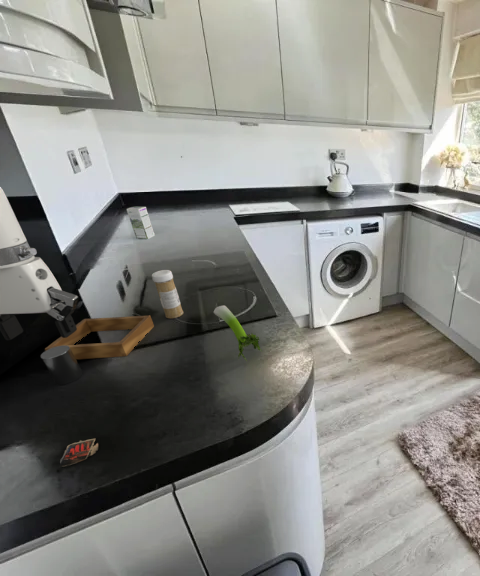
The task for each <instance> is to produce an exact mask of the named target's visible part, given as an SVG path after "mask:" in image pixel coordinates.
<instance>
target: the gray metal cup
mask: <svg viewBox="0 0 480 576" xmlns="http://www.w3.org/2000/svg"><path fill="white" fill-rule="evenodd" d="M40 359H41V360H42V363H44V364H43V365H44V366H45V367H46V369H47V371H48V372H49V374H50V376H51V378H52V379H53V380H54V383H55V384H56V385H58V386H63V385H69V384H71V383H74V382H75V381H77V380H79V379H81V377H83V373H84V372H83V371H82V369H81V367H80V364H79V362H78V360H77V359H75V357H74V355H73V353H72V351H71V349H70V347H69V346H67V345H62V346H57V347H53V348H51V349H48V350H47V351H45V350H44V351H43V352H42V353H41V354H40Z"/></svg>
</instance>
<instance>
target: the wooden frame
mask: <svg viewBox="0 0 480 576" xmlns="http://www.w3.org/2000/svg"><path fill="white" fill-rule="evenodd" d="M75 325H76V328H77V330H76V331H75V332H74V333H72V334H71V335H70V336H68V337H67V338H63V337H62V336H61V335H60V337H58V338H57V339H56V340H54V341H53V342H52V343H50V344H49V345H48V346H46V347H45V348H44V352H45V351H47V350H48V349H51V348H53V347H57V346H62V345H67V346H69V347H70V349H71V351H72V353H73V355H74V357H75V359H76V360H87V359H90V360H91V359H104V358H119V357H127V356H128V355H129V354H130V353H131V352H132V351H133V350H134V349H135V348H136V347H137V346H138V345H139V343H140V342H141V341H142V340H143V339H144V338H145V337H146V336H147V335H148V334H149V333H150V332H151V330H153V328H154V327H155V325H154V322H153V319H152V317H151V315H134V316H131V315H130V316H113V317H112V316H111V317H98V318H97V317H94V318H93V317H92V318H83V319H82V320H81V321H80V322H78V323H77V324H75ZM128 329H129V330H130V331H129V332H128V333H127V334H126V335H125V336H124V337H122V339H121V340H120V341H115V342H99V343H81V344H76V345H74V344H75V343H76V342H78V341H79V340H80V341H82V340H83V339H84V338H85V337H87V336H88V335H89V334H90V333H91V332H93V333H94V332H111V331H125V330H127V331H128ZM147 333H148V334H147ZM87 334H88V335H87ZM146 334H147V335H146ZM145 335H146V336H145ZM83 337H84V338H83ZM82 338H83V339H82ZM81 339H82V340H81ZM80 341H79V342H80ZM139 341H140V342H139ZM79 342H78V343H79ZM138 342H139V343H138ZM135 346H136V347H135ZM134 347H135V348H134Z"/></svg>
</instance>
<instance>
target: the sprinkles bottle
mask: <svg viewBox="0 0 480 576" xmlns="http://www.w3.org/2000/svg"><path fill="white" fill-rule="evenodd" d="M151 278H152V281H153V282H154V285H155V288H156V290H157V294H158V296H159V300H160V303H161V306H162V307H161V308H162V309H163V312H164V314H165V315H164V316H165V318H167V319H169V320H170V319H177V318H179V317H181V316H183V315H184V310H183V308H182V305H181V300H180V296H179V293H178V290H177V287H176V284H175V282H174V275H173V272H172V271H171V270H170V269H162V270H157V271H154V272H152V274H151Z"/></svg>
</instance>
